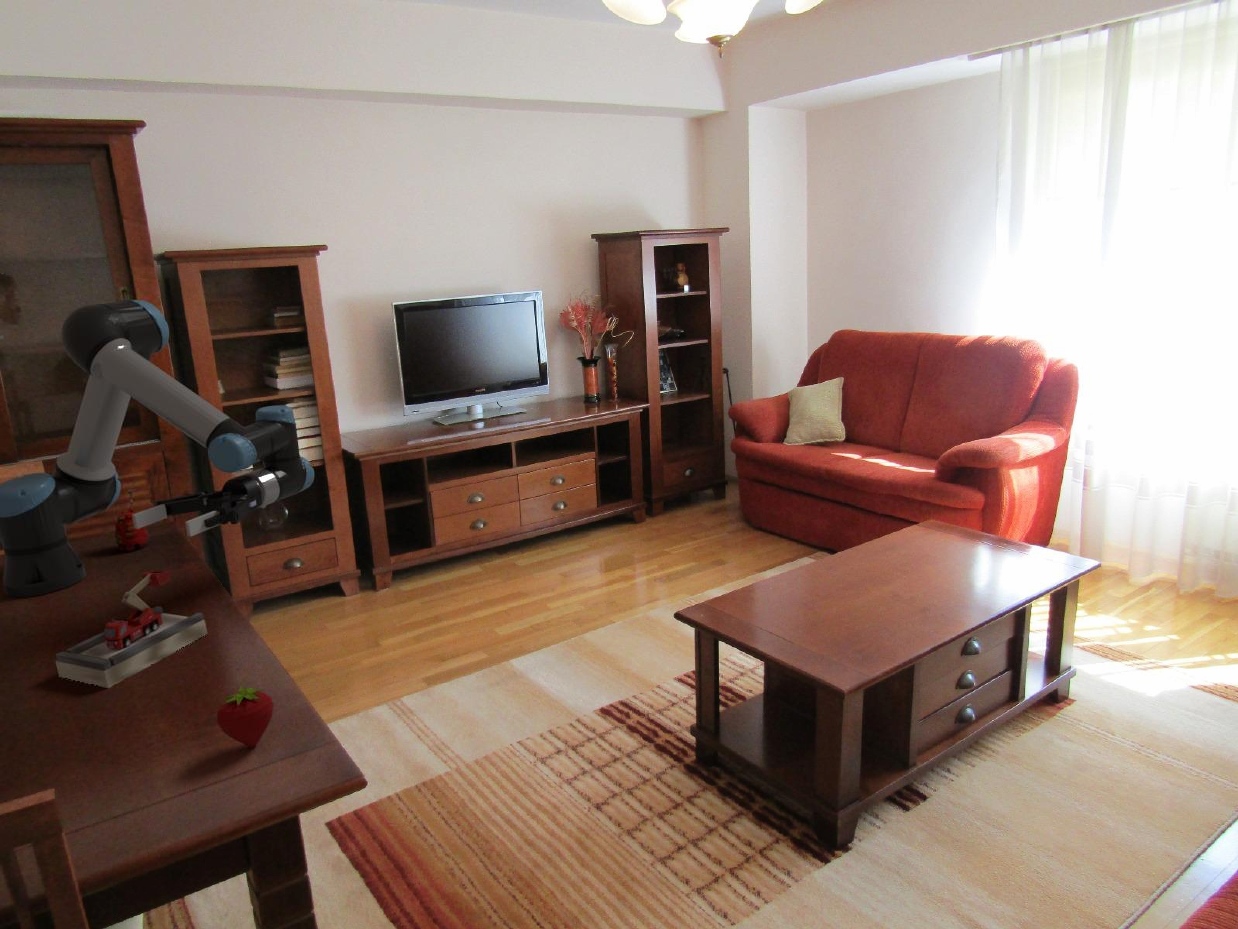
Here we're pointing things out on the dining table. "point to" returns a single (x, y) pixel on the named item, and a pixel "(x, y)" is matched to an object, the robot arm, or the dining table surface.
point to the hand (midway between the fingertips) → (160, 525)
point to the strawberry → (246, 715)
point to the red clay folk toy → (130, 530)
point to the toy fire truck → (136, 614)
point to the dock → (128, 651)
